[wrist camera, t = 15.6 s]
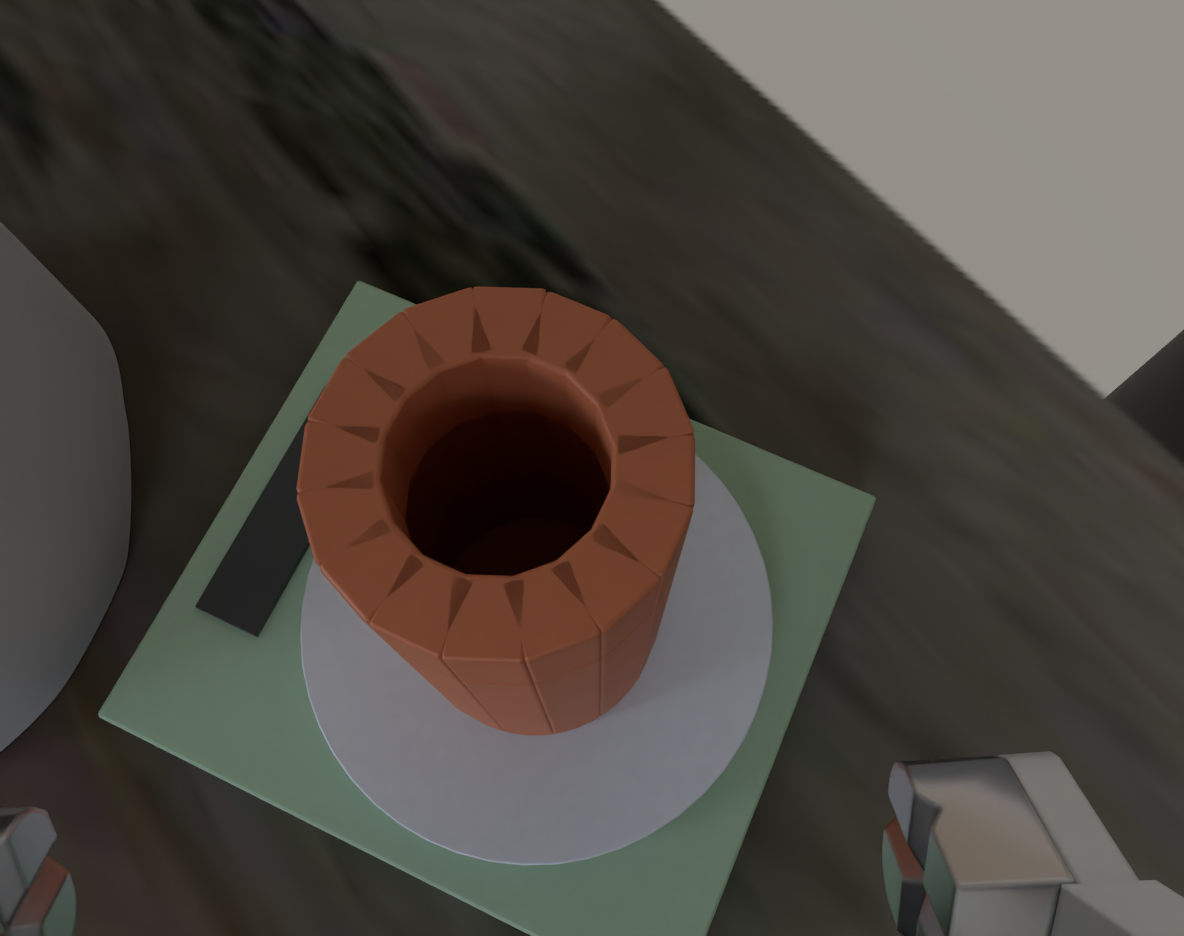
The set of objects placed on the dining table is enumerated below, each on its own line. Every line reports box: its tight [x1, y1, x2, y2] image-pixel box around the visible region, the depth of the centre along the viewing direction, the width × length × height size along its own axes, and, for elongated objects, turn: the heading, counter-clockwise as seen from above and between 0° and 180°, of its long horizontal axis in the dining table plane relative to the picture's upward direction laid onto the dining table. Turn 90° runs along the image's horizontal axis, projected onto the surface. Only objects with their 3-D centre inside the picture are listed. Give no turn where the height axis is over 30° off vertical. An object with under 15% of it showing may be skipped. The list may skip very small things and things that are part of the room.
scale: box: [98, 281, 876, 936], centre depth 25 cm, size 14×12×3 cm
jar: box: [296, 286, 695, 736], centre depth 19 cm, size 5×5×10 cm
